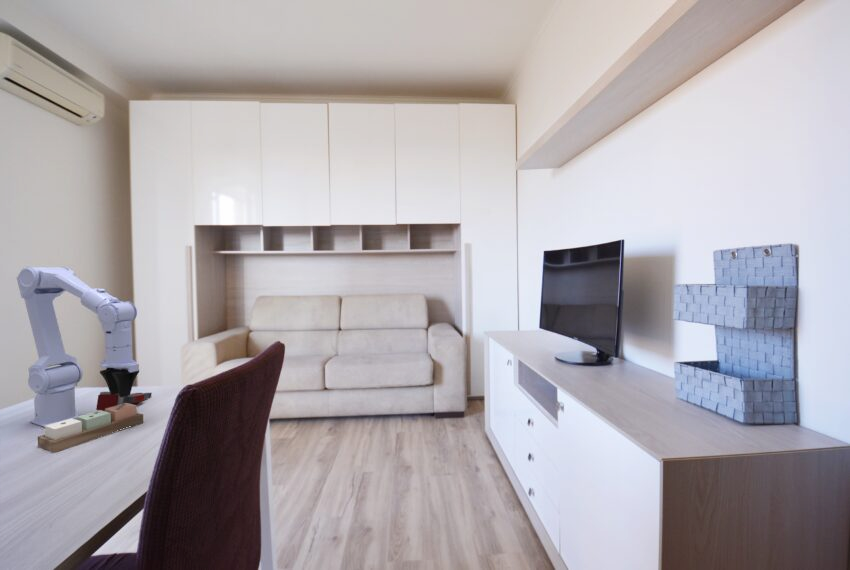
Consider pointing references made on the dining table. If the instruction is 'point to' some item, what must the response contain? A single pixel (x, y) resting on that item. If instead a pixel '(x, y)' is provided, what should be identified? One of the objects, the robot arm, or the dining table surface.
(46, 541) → the dining table surface
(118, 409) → the terracotta tile
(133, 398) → the toy
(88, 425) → the sage tile
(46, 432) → the cream tile
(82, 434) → the board
